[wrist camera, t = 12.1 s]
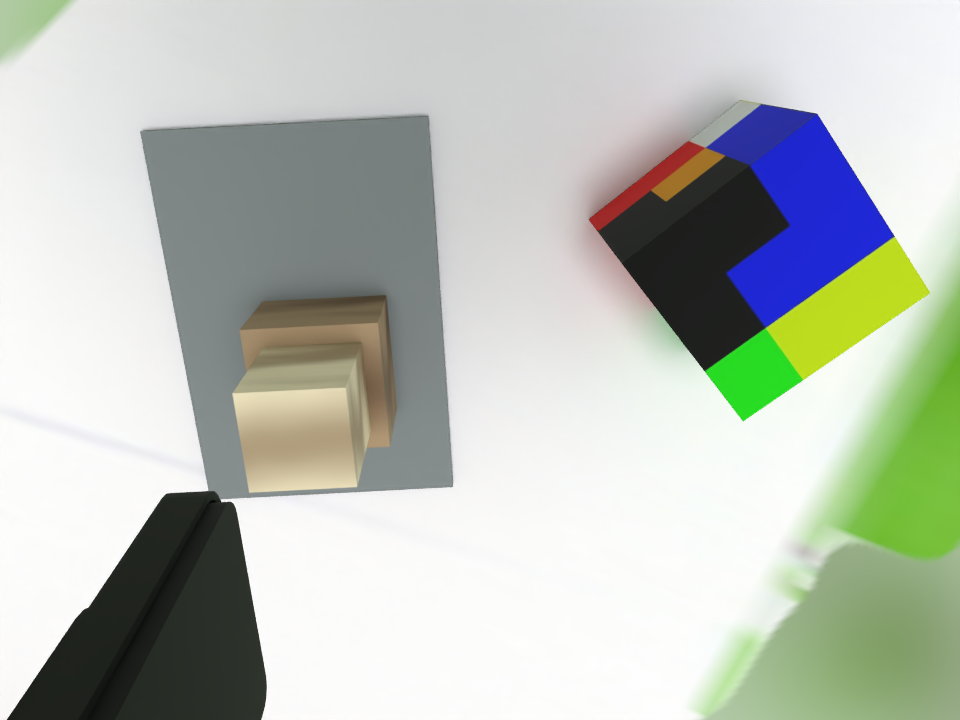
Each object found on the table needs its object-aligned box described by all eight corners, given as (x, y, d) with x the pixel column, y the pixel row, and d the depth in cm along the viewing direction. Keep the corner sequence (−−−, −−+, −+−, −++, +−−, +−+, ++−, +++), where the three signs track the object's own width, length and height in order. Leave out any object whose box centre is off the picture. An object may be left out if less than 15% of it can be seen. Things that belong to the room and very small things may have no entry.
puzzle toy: (739, 100, 43) (817, 113, 34) (834, 243, 46) (930, 292, 37) (588, 218, 45) (621, 262, 36) (688, 349, 48) (742, 421, 39)
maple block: (263, 347, 41) (232, 393, 36) (361, 341, 41) (345, 387, 36) (276, 435, 43) (249, 492, 37) (370, 430, 43) (357, 487, 37)
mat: (144, 130, 43) (140, 131, 42) (428, 116, 43) (427, 117, 42) (213, 494, 51) (210, 499, 50) (452, 481, 51) (452, 486, 50)
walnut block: (262, 301, 46) (239, 329, 41) (386, 295, 46) (377, 322, 41) (279, 414, 48) (259, 453, 43) (396, 408, 48) (389, 446, 43)
